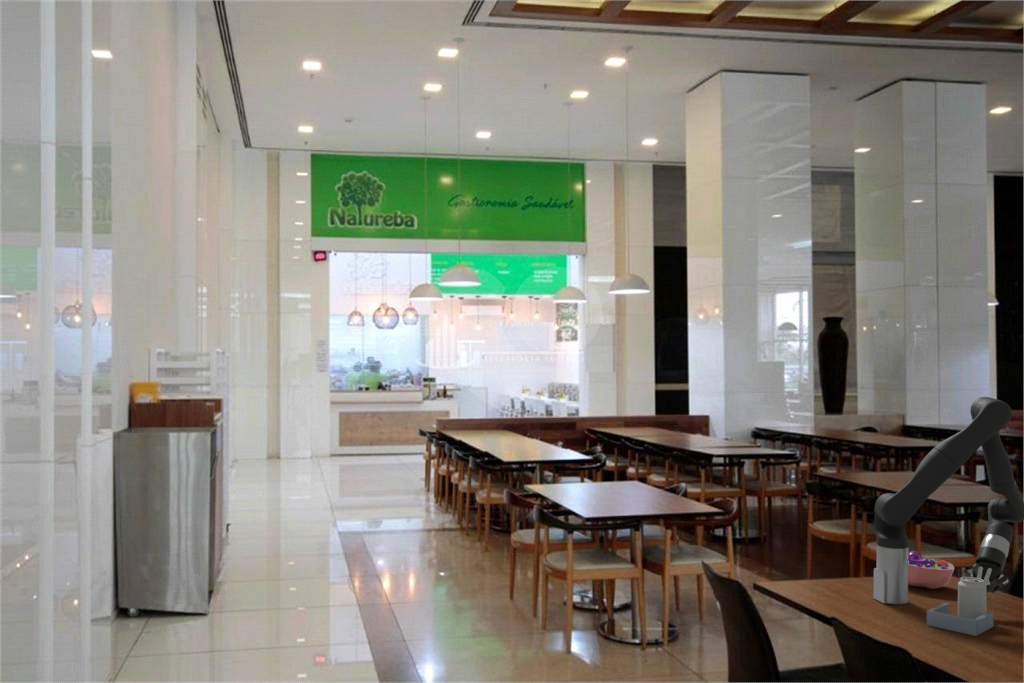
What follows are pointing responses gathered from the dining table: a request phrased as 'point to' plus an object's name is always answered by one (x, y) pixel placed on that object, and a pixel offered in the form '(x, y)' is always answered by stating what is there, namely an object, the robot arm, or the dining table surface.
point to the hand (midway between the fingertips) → (978, 601)
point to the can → (971, 597)
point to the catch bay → (958, 621)
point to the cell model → (928, 571)
